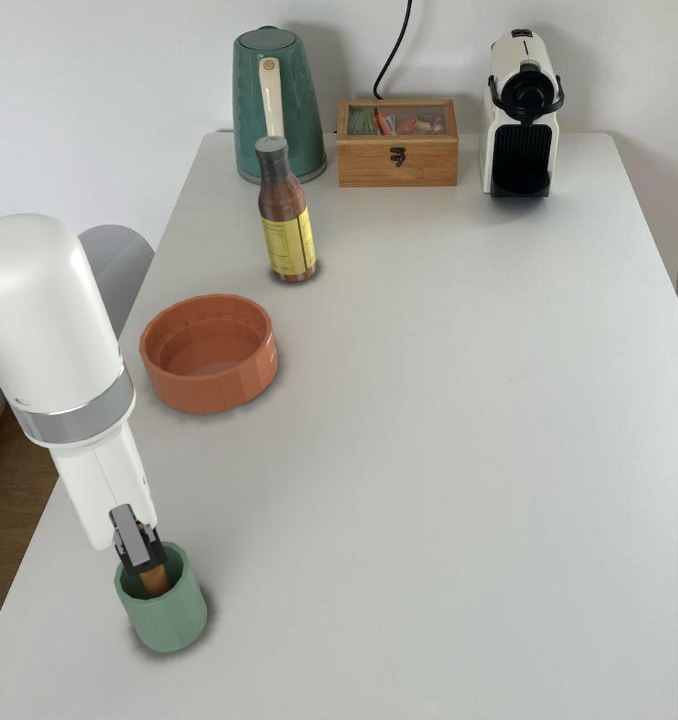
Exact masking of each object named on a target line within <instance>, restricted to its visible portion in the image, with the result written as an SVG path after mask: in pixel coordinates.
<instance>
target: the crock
mask: <svg viewBox="0 0 678 720" xmlns="http://www.w3.org/2000/svg"><path fill="white" fill-rule="evenodd" d="M160 541H161V543H162V546H163V548H164V551H165V553H166V556H167V558H168V561H167V562H166V563H164V564H163V567H164V569H165V572H166V574H167V576H168V579H169V581H170V584H171V586H172V588H173V589H171V590H170V591H168V592H167V593H165V594H164V595H162V596H161V597H157V598H153V599H150V597H149V595H148V593H147V591H146V588H145V586H144V584H143V582H142V580H141V578H140V575H137V576H134V577H129V576H128V574H127V572H126V570H125V568H124V566H123V564H122V562H121V561H120V562H119V564H118V565H117V567H116V570H115V574H114V578H113V585H114V588H115V591H116V594H117V596H118V598H119V601H120V602H121V604H122V606H123V608H124V610H125V612H126V615H127V617H128V618H129V621H131V624H132V626H133V628H134V630H135V632H136V634H137V636H138V638H139V640H141V641H142V644H144V645H145V646H146V647H147V648H149V649H150V650H152V651H155V652H159V653H172V652H177V651H180V650H182V649H184V648H186V647H188V646H190V645H191V644H192V643H194V642H195V641H196V640H197V639H198V638H199V637H200V635H201V634H202V633H203V631H204V630H205V628H206V624H207V622H208V607H207V603H206V602H205V599H204V596H203V594H202V591H201V588H200V585H199V582H198V581H197V578H196V575H195V572H194V570H193V567H192V564H191V562H190V559H189V556H188V554H187V552H186V550H185V549H184V548H183V547H181V546H180V545H178V544H177V543H175V542H172V541H165V540H160Z"/></svg>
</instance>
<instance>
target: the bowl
mask: <svg viewBox="0 0 678 720" xmlns="http://www.w3.org/2000/svg"><path fill="white" fill-rule="evenodd" d="M274 333H275V332H274V327H273V322H272V318H271V317H270V315H269V314H268V312H267V311H266V309H265V308H264V307H263V306H262V305H260V304H259V303H257V302H256V301H254V300H252V299H251V298H248V297H245V296H240V295H237V294H228V293H209V294H203V295H196V296H192V297H189V298H186V299H183V300H181V301H177V302H176V303H174V304H172V305H170V306H168V307H166V308H164V309H163V310H161V311H160V312H159V313H157V314H156V316H154V317H153V318H152V319H151V320H149V322H148V323H147V324H146V326H145V328H144V330H143V332H142V333H141V334H140V337H139V345H138V352H139V355H140V358H141V361H142V364H143V367H144V369H145V373H146V376H147V378H148V381H149V384H150V386H151V389H152V392H153V393H154V395H155V397H156V398H157V399H158V400H159V401H161V402H162V403H163V404H164V405H165V406H167V407H168V408H171V409H174V410H177V411H179V412H182V413H187V414H199V415H208V414H209V415H210V414H214V413H215V414H216V413H221V412H226V411H229V410H231V409H235V408H237V407H240V406H242V405H245V404H247V403H249V402H250V401H252V400H253V399H254V398H256V397H258V396H259V395H260V394H262V393H263V392H264V391H265V389H266V388H268V386H269V385H270V384H271V383H272V382H273V380H274V378H275V376H276V373H277V370H278V368H279V356H278V350H277V344H276V339H275V334H274Z"/></svg>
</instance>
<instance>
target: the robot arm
mask: <svg viewBox="0 0 678 720" xmlns="http://www.w3.org/2000/svg"><path fill="white" fill-rule="evenodd" d="M86 254H87V253H86V252H85V249H84V247H83V245H82V242H81V240H80V238H79V237H78V235H77V233H76V232H75V231H74V230H73V229H72V228H71V227H70V226H69V225H67V224H66V223H65V222H63V221H62V220H60V219H58V218H56V217H54V216H50V215H46V214H42V213H41V214H40V213H34V212H33V213H30V212H25V213H24V212H23V213H14V214H7V215H4V216H3V215H2V216H0V389H1V391H2V393H3V395H4V397H5V399H6V401H7V403H8V404H9V407H10V408H11V410H12V412H13V414H14V416H15V418H16V419H17V422H18V424H19V426H20V428H21V429H22V431H23V433H24V435H25V436H26V437H27V439H28V440H30V441H31V443H34V445H35V444H36V445H38V446H40V447H43V448H47V449H48V451H49V453H50V456H51V458H52V462H53V464H54V466H55V468H56V470H57V474H58V475H59V478H60V480H61V482H62V485H63V487H64V489H65V491H66V493H67V495H68V497H69V500H70V502H71V504H72V506H73V509H74V511H75V513H76V514H77V518H78V519H79V521H80V524H81V526H82V528H83V530H84V533H85V535H86V537H87V539H88V542H89V544H90V546H91V549H92V550H95V552H96V551H97V552H100V553H101V552H103V551H105V550H109V549H111V548H112V546H113V541H114V543H115V544H114V549H115V551H116V554H117V555H118V557H119V559H120V562H122V564H123V566H124V568H125V570H126V572H127V574H128V576H129V577H134V576H137V575H139V574H141V573H146V572H148V571H150V570H153V569H154V568H155V567H157V566H160V565H162V564H164V563H166V562H167V561H168V558H167V556H166V553H165V551H164V548H163V546H162V543H161V541H162V540H161V538H160V536H159V534H158V531H157V524H158V518H157V513H156V509H155V506H154V501H153V497H152V495H151V490H150V487H149V483H148V479H147V476H146V473H145V469H144V466H143V463H142V459H141V457H140V453H139V451H138V447H137V445H136V442H135V439H134V436H133V433H132V430H131V427H130V425H129V422H128V418H129V417H130V416H131V414H132V412H133V410H134V408H135V407H136V400H137V392H136V388H135V386H134V383H133V381H132V378H131V375H130V373H129V370H128V367H127V365H126V362H125V358H124V357H123V353H122V351H121V348H120V345H119V342H118V340H117V337H116V334H115V332H114V331H115V330H114V329H113V326H112V324H111V320H110V318H109V315H108V312H107V308H106V307H105V304H104V303H105V302H104V301H103V298H102V295H101V292H100V290H99V287H98V284H97V282H96V279H95V276H94V273H93V271H92V267H91V265H90V262H89V260H88V257H87V255H86ZM139 524H142V526H143V528H142V529H138V527H137V525H139Z"/></svg>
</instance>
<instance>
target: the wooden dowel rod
mask: <svg viewBox="0 0 678 720" xmlns="http://www.w3.org/2000/svg"><path fill="white" fill-rule="evenodd" d="M137 527H138V529H142V528H143V526H142V524H139V525H137ZM139 575H140V578H141V580H142V582H143V584H144V586H145V588H146V591H147V593H148V595H149V597H150V599H153V598H157V597H161V596H162V595H164V594H165V593H167V592H168V591H170V590H171V589H173V588H172V586H171V584H170V581H169V579H168V576H167V574H166V572H165V569H164V567H163V564H162V565H160V566H157V567H155V568H154V569H153V570H150V571H148V572H146V573H141V574H139Z"/></svg>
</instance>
